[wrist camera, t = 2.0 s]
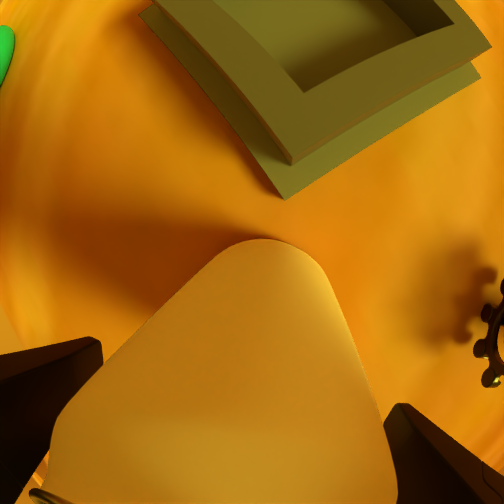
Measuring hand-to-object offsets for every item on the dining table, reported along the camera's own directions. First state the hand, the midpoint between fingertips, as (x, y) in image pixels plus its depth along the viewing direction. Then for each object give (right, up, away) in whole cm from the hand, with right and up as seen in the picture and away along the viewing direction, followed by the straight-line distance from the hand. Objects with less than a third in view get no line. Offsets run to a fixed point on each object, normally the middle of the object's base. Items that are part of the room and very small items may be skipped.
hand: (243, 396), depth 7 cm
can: (+1, +1, +7) cm, 7 cm away
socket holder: (+3, +15, +3) cm, 16 cm away
